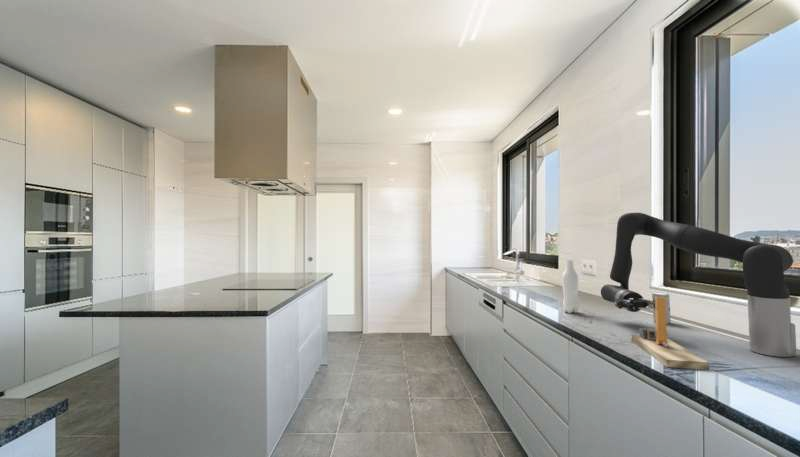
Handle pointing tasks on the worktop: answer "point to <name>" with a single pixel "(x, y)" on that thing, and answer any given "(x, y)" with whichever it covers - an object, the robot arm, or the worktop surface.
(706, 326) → the worktop surface
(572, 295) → the water bottle
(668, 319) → the skincare box
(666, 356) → the rail board
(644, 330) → the gray rectangular block
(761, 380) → the worktop surface
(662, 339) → the upright wooden paddle
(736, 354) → the worktop surface
